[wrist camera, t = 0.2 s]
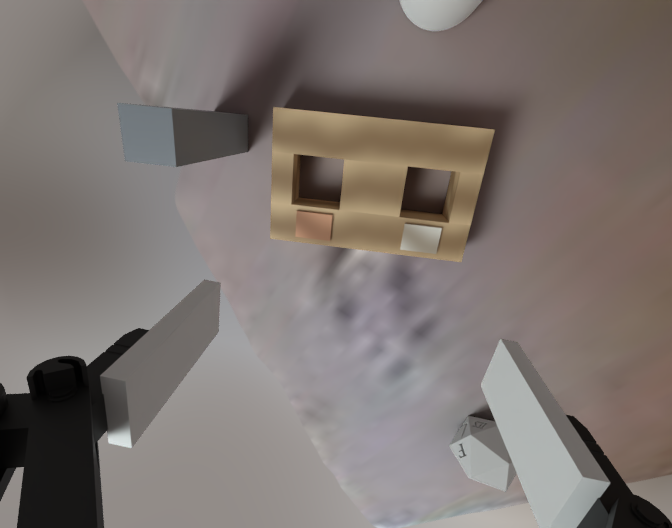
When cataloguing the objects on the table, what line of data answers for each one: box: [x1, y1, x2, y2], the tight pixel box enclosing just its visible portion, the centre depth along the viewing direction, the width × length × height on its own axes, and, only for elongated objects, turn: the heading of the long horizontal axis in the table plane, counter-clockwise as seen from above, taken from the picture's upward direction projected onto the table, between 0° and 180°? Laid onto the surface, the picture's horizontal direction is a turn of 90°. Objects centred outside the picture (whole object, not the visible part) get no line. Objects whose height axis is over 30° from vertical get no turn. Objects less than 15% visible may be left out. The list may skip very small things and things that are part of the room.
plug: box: [117, 103, 248, 167], centre depth 32 cm, size 4×4×16 cm
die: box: [449, 416, 517, 492], centre depth 49 cm, size 8×9×10 cm
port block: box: [270, 107, 495, 262], centre depth 38 cm, size 14×22×4 cm, turn 84°
